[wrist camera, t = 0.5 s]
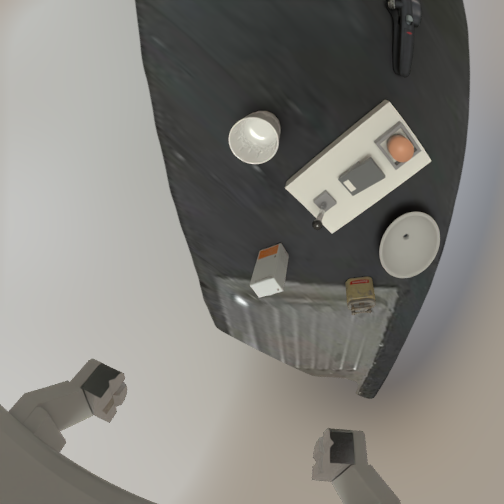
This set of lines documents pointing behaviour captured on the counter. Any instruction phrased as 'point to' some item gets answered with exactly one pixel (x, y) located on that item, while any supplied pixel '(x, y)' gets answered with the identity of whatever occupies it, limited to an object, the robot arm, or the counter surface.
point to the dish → (409, 244)
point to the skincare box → (270, 271)
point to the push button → (400, 148)
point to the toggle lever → (319, 217)
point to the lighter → (360, 294)
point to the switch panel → (350, 155)
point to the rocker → (361, 176)
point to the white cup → (255, 137)
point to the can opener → (404, 32)
